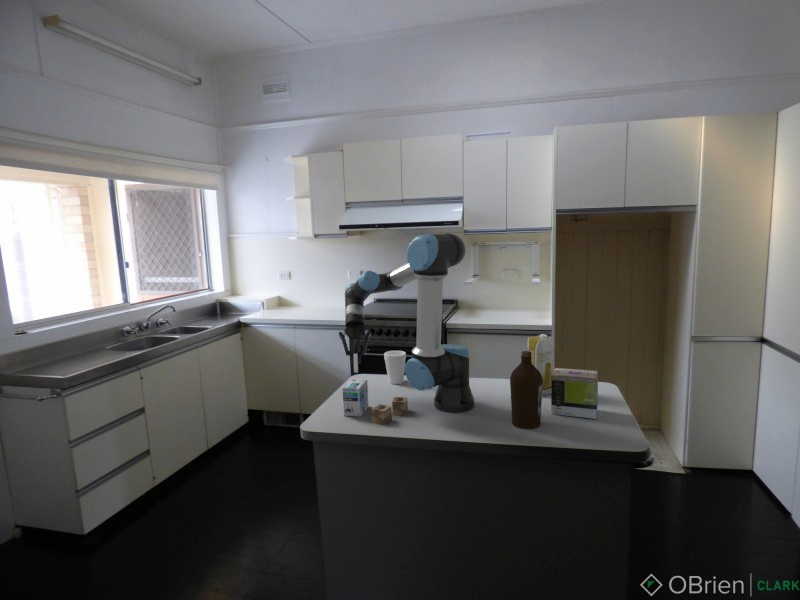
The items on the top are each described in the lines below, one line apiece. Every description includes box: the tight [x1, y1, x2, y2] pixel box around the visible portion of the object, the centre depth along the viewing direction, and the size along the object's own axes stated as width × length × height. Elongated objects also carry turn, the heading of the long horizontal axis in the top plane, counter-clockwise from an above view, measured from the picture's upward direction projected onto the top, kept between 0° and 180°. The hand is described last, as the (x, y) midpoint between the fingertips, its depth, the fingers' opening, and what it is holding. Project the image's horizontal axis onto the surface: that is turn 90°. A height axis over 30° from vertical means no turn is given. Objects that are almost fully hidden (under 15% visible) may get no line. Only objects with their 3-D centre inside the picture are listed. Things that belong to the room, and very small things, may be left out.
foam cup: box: [383, 350, 407, 385], centre depth 211 cm, size 10×9×13 cm
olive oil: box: [509, 350, 543, 430], centre depth 161 cm, size 11×11×25 cm
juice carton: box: [527, 333, 555, 397], centre depth 191 cm, size 9×8×24 cm
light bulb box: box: [341, 378, 369, 418], centre depth 179 cm, size 11×7×11 cm, turn 168°
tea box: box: [550, 367, 599, 420], centre depth 171 cm, size 15×10×15 cm, turn 65°
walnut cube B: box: [371, 403, 393, 426], centre depth 170 cm, size 5×5×5 cm
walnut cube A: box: [391, 396, 409, 416], centre depth 177 cm, size 5×5×5 cm
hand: (355, 370), depth 178 cm, fingers closed
